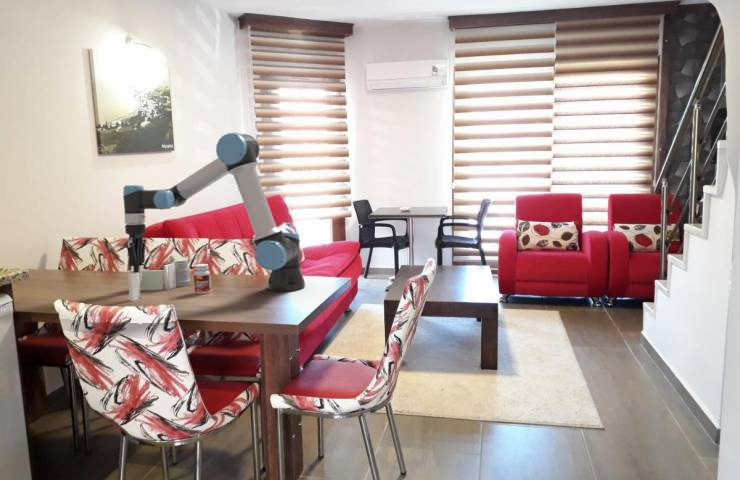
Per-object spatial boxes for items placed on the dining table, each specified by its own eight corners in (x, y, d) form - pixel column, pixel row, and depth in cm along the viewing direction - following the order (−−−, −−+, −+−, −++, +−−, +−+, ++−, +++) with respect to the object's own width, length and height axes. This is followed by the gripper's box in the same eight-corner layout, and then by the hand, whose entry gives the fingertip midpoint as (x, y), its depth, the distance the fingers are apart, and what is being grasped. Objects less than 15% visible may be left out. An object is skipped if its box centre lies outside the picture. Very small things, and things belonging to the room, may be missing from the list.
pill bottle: (195, 295, 225) (194, 266, 224) (193, 292, 231) (192, 264, 229) (211, 293, 227) (210, 265, 226) (209, 290, 233) (208, 263, 232)
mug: (179, 287, 239) (177, 259, 238) (162, 284, 246) (160, 256, 245) (194, 284, 245) (193, 256, 244) (177, 281, 252) (176, 254, 251)
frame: (176, 287, 240) (175, 263, 239) (132, 301, 216) (131, 274, 215) (173, 286, 241) (171, 263, 239) (129, 300, 217) (127, 274, 215)
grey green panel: (162, 290, 234) (160, 271, 233) (127, 290, 234) (126, 271, 233) (163, 289, 236) (162, 270, 235) (129, 289, 236) (128, 270, 235)
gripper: (136, 225, 223) (139, 284, 226) (151, 222, 236) (154, 278, 238) (117, 225, 224) (121, 284, 226) (133, 222, 236) (136, 278, 239)
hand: (138, 281), depth 232 cm, fingers closed
